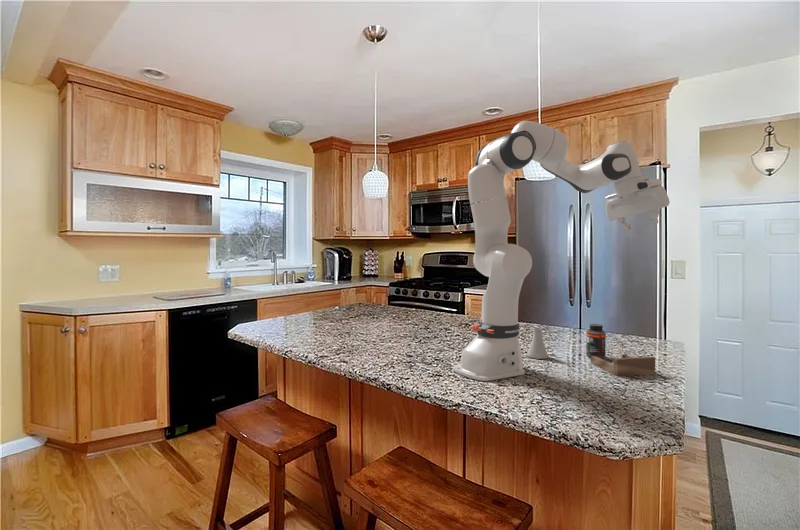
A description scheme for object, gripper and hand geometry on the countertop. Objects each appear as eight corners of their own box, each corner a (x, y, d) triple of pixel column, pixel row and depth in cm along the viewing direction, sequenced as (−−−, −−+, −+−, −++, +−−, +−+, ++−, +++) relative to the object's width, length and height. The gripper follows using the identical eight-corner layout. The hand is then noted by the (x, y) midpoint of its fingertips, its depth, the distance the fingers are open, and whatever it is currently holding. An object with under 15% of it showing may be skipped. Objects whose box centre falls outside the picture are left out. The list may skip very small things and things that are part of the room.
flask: (550, 360, 133) (550, 330, 132) (527, 359, 134) (528, 329, 134) (546, 354, 140) (547, 326, 139) (525, 353, 141) (525, 325, 141)
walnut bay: (590, 363, 129) (591, 348, 129) (625, 361, 131) (625, 346, 131) (616, 376, 117) (617, 359, 116) (654, 374, 118) (655, 357, 118)
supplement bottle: (604, 355, 138) (605, 323, 137) (605, 360, 133) (606, 327, 132) (585, 353, 141) (586, 322, 140) (586, 358, 135) (586, 325, 134)
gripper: (597, 198, 144) (608, 234, 144) (655, 180, 127) (667, 221, 126) (608, 196, 147) (618, 231, 147) (665, 177, 130) (677, 218, 129)
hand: (641, 227), depth 137 cm, fingers open, 8 cm apart
